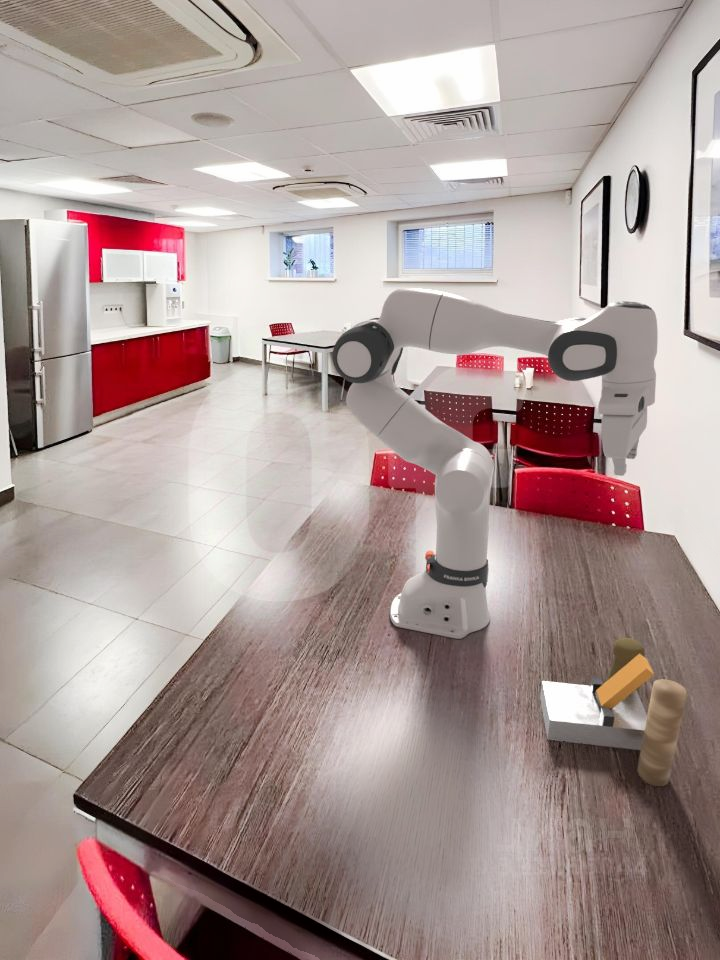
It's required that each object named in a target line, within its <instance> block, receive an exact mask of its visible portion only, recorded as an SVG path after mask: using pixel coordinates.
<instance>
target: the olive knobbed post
mask: <svg viewBox="0 0 720 960" xmlns="http://www.w3.org/2000/svg"><path fill="white" fill-rule="evenodd" d="M612 652H613V653H612V654H613V655H614V658H613V660H612V665H611V668H610V670H609V673H608V676H607V678H606V681H608V680H609V679H610V678H611V677H612V676H614V675H615V674H616V673H617V672H618V671H619V670H621V669H622V668H623V667H624V666H625V665H626V664H628V663H629V662H630V661H631V660H632V659H634V658H635V657H636V656H637V655H638V654H641V655H642V656H643V657H645V655H646V652H645V647H644V645H643V644H642V643H641V642H640V641H638V640H637V639H634V638H631V637H621V638H618V639H616V640H615V642H614V643H613V646H612ZM640 687H641V686H639V687H638V688H637V689H636V690H637V692H638V695H639V697H640V693H641V692H640V691H641V690H640ZM640 698H641V697H640Z"/></svg>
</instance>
